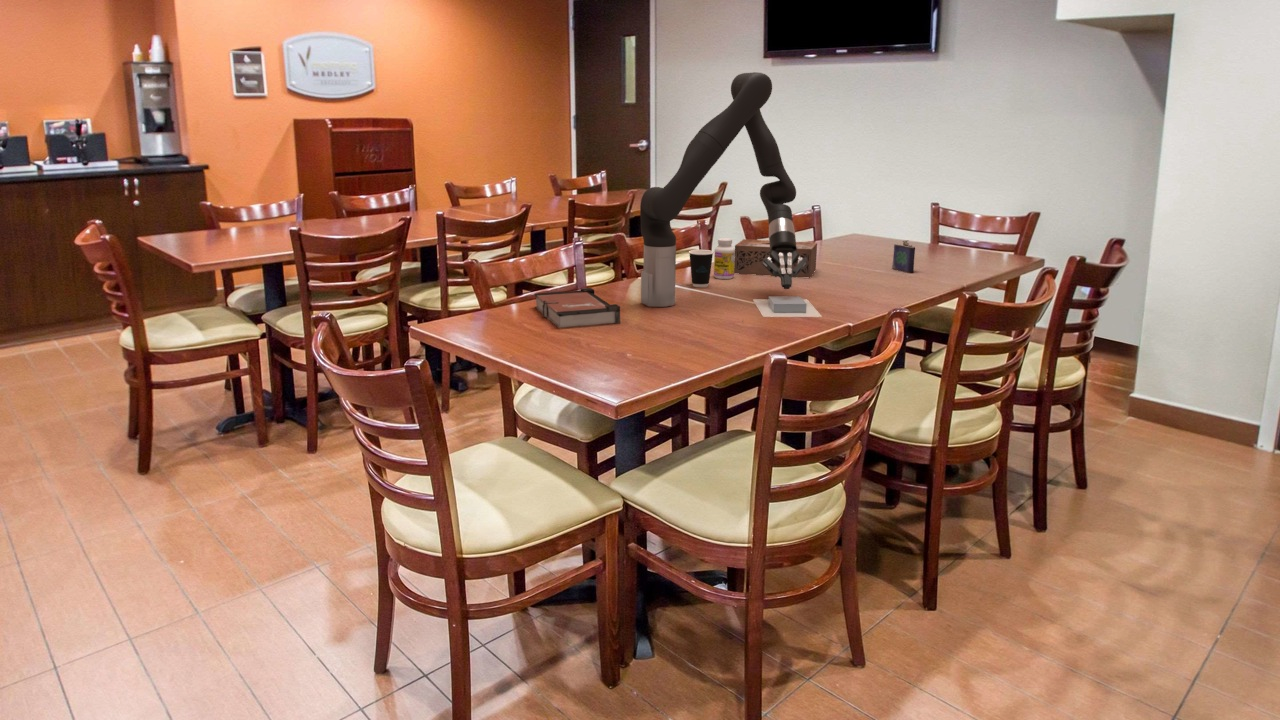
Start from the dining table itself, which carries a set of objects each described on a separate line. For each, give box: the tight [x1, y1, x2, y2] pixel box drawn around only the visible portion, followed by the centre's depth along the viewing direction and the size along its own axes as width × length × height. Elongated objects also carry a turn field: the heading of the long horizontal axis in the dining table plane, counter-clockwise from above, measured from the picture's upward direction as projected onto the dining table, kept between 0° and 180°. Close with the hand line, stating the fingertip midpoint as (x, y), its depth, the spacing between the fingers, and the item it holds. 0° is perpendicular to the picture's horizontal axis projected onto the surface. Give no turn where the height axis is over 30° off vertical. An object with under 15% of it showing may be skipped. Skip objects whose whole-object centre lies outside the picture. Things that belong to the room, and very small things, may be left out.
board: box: [752, 298, 823, 318], centre depth 252 cm, size 22×16×1 cm
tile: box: [768, 295, 807, 313], centre depth 250 cm, size 2×9×10 cm
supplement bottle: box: [713, 237, 735, 280], centre depth 296 cm, size 7×7×13 cm
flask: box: [891, 240, 916, 274], centre depth 308 cm, size 9×3×11 cm, turn 28°
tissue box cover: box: [734, 238, 818, 279], centre depth 306 cm, size 26×14×10 cm, turn 72°
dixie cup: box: [688, 249, 715, 288], centre depth 283 cm, size 8×8×11 cm
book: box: [534, 287, 621, 330], centre depth 245 cm, size 26×18×5 cm
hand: (787, 287), depth 250 cm, fingers closed
